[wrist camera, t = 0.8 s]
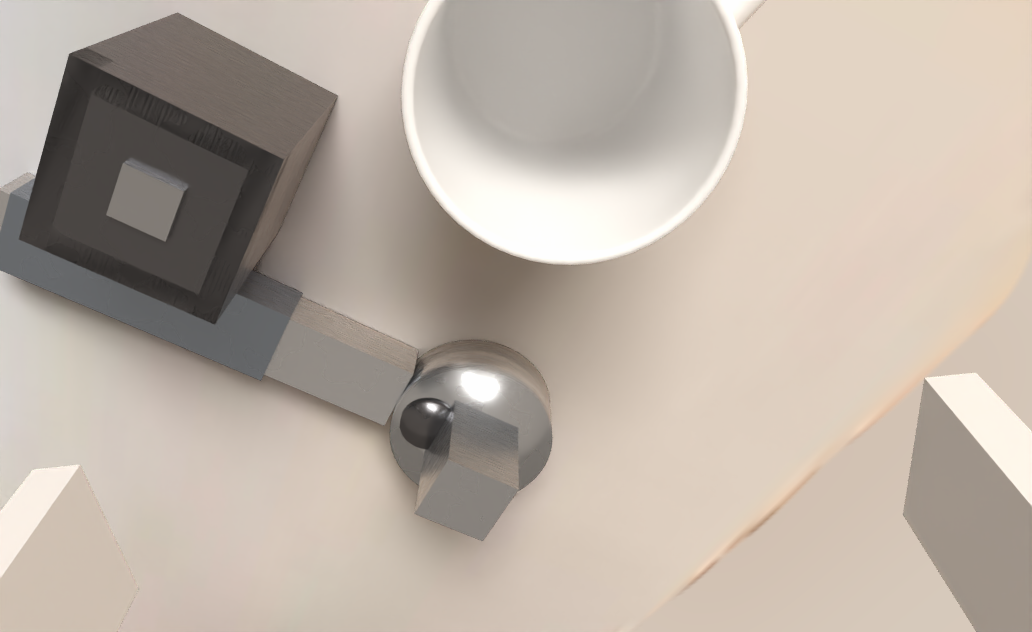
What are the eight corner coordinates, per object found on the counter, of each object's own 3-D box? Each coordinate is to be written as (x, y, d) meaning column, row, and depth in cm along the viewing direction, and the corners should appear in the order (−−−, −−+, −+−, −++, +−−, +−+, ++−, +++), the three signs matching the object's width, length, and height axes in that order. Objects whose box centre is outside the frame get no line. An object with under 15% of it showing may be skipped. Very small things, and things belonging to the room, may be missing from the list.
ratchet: (0, 273, 34) (-105, 353, 28) (38, 128, 31) (-70, 183, 25) (505, 487, 39) (503, 590, 34) (578, 380, 36) (590, 472, 31)
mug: (798, 28, 29) (932, 97, 20) (515, 191, 32) (515, 318, 23) (697, -213, 26) (801, -269, 16) (390, -6, 29) (329, 47, 19)
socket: (129, 160, 32) (14, 242, 24) (177, 12, 29) (64, 55, 22) (279, 230, 33) (212, 328, 26) (337, 95, 31) (281, 162, 23)
